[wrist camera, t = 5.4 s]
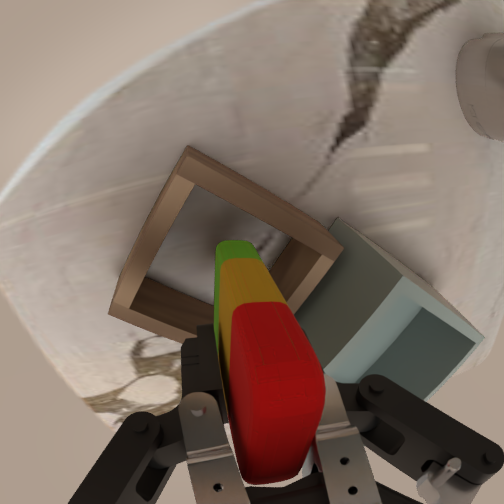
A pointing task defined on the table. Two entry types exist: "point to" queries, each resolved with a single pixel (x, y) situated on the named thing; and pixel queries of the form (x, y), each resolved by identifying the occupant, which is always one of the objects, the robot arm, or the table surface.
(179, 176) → the collar
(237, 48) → the table surface
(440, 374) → the bin
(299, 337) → the popsicle
